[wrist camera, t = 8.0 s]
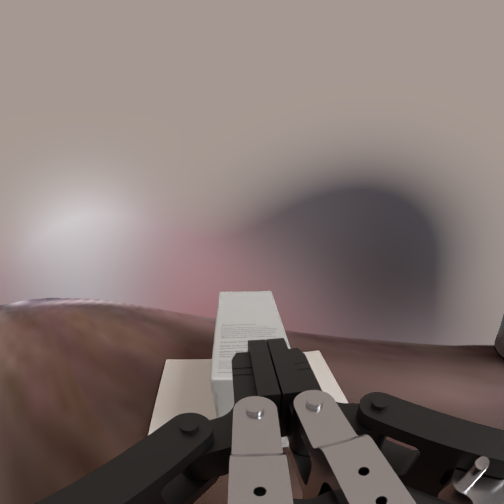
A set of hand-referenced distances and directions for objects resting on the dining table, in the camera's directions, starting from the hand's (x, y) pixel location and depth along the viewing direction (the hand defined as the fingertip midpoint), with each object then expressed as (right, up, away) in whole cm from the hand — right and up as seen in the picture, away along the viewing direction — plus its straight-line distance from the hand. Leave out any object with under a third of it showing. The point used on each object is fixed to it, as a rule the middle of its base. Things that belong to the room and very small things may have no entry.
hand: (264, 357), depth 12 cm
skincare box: (0, -7, +5) cm, 9 cm away
